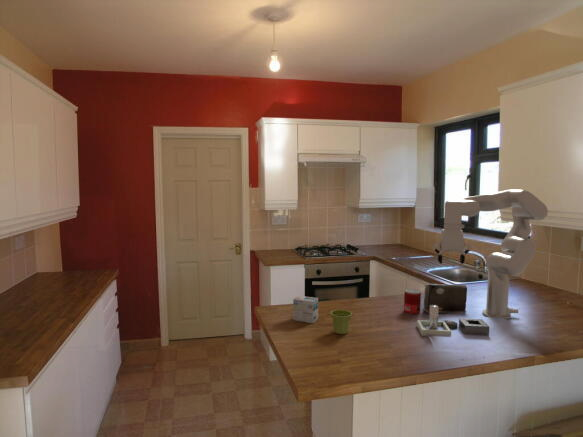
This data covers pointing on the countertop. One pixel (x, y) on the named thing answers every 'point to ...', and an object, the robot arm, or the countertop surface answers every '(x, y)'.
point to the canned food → (412, 301)
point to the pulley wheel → (450, 324)
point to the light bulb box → (305, 309)
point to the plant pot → (341, 320)
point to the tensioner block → (473, 327)
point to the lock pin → (433, 317)
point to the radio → (445, 298)
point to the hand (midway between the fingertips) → (451, 263)
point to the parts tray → (427, 332)
